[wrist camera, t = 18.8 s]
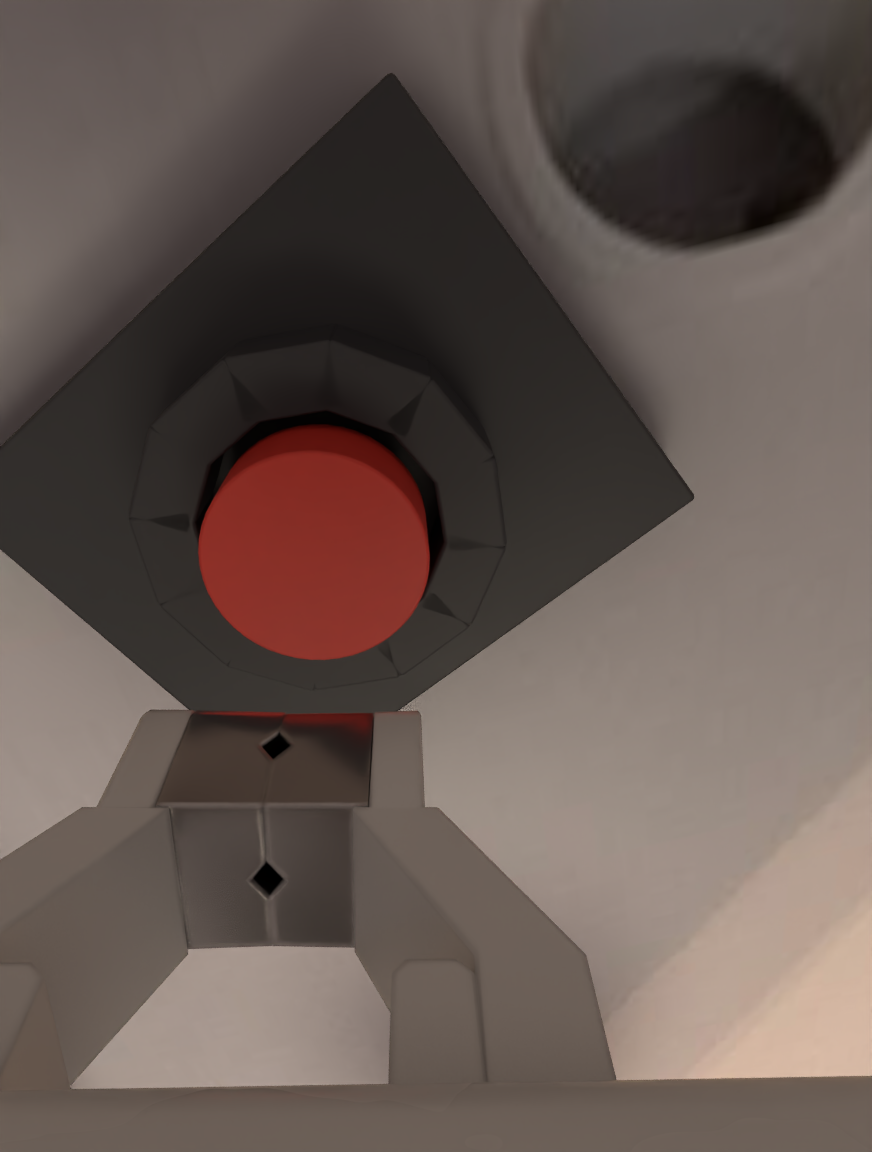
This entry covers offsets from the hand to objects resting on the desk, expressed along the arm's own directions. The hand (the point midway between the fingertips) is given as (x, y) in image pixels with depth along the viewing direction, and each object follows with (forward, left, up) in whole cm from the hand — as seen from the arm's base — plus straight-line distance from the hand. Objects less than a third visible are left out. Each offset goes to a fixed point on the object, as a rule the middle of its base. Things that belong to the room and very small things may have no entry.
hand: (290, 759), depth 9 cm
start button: (0, 0, -7) cm, 7 cm away
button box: (0, 0, -11) cm, 11 cm away
